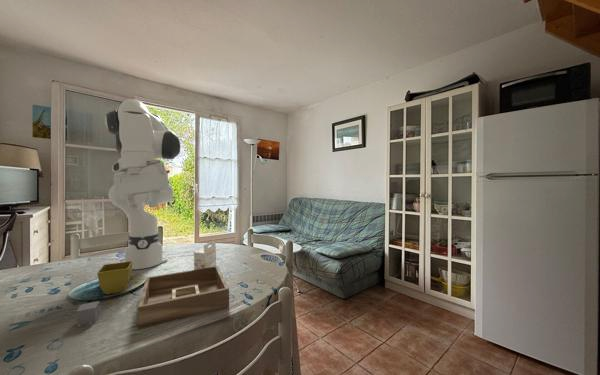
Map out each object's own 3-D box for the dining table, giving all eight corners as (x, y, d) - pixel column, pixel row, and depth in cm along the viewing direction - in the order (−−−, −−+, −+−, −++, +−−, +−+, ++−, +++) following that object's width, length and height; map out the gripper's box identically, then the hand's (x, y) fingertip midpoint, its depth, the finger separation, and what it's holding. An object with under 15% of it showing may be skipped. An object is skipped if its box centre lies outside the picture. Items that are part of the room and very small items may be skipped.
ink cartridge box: (206, 272, 103) (206, 239, 102) (216, 273, 102) (216, 239, 101) (193, 281, 94) (193, 244, 94) (204, 282, 93) (204, 245, 93)
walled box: (146, 294, 83) (146, 277, 83) (217, 280, 94) (217, 266, 94) (138, 329, 64) (137, 307, 64) (229, 307, 75) (229, 288, 75)
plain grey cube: (81, 319, 68) (81, 304, 68) (99, 315, 70) (99, 301, 70) (76, 327, 65) (76, 311, 64) (95, 322, 66) (95, 307, 66)
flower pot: (97, 298, 80) (96, 272, 79) (104, 288, 87) (103, 264, 87) (128, 293, 84) (128, 268, 83) (133, 283, 91) (132, 260, 91)
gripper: (172, 159, 71) (176, 204, 71) (129, 168, 79) (133, 209, 79) (152, 157, 66) (156, 206, 65) (108, 167, 74) (111, 211, 73)
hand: (143, 208), depth 72 cm, fingers open, 8 cm apart
